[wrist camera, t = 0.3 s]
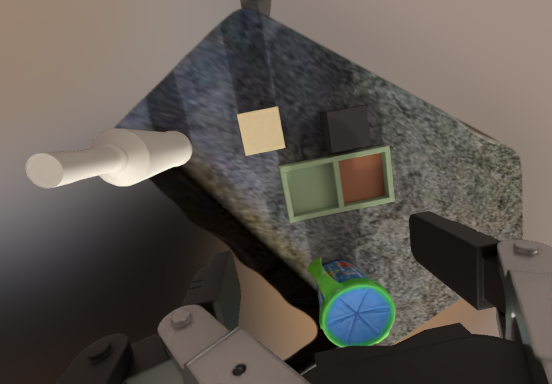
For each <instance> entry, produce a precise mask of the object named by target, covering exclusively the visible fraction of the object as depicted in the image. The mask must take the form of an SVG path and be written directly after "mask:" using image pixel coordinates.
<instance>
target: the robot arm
mask: <svg viewBox="0 0 552 384" xmlns="http://www.w3.org/2000/svg"><path fill="white" fill-rule="evenodd" d="M409 228H410V242H411V251H412V254H413V256H414V258H415V259H416V261H417V262H418V263H420V264H421V265H422V266H423V267H425V268H426V269H427V270H428V271H430V272H431V273H432V274H433V275H434V276H436V277H437V278H438V279H439V280H441V281H442V282H443V283H444V284H446V285H447V286H448V287H449V288H451V289H452V290H453V291H454V292H456V293H457V294H458V295H459V296H461V297H462V298H463V299H464V300H466V301H467V302H468V303H469V304H470V305H472V306H473V307H474V308H476V309H477V310H482V309H487V308H492V307H496V318H497V325H498V330H499V336H500V338H499V337H494V336H488V335H478V334H471V333H470V332H469V331H468V330H467V329H466V328H465V327H464V326H463V325H462V324H460V323H456V324H451V325H446V326H442V327H437V328H432V329H428V330H424V331H422V332H420V333H418V334H416V335H414V336H412V337H410V338H408V339H406V340H403V341H401V342H399V343H397V344H395V345H392V346H347V347H342V348H337V349H333V350H328V351H323V352H318V353H314V355H315V360H316V366H317V367H315V368H313V369H311V370H309V371H308V372H306V373H305V374H303V375H302V376H301V375H300V374H298V373H297V372H296V371H295V370H294V369H292V368H291V367H290V366H289V365H287V364H286V363H285V362H284V361H283V360H281V359H280V358H279V357H278V356H276V355H275V354H274V353H273V352H272V351H270V350H269V349H268V348H266V347H265V346H264V345H263V344H262V343H261V342H259V341H258V340H257V339H256V338H254V337H253V336H252V335H251V334H250V333H248V332H247V331H246V330H245V329H243V328H242V327H240V326H238V319H239V310H240V300H241V290H240V283H239V279H238V276H237V271H236V267H235V263H234V258H233V255H232V252H231V251H225V252H220V253H215V254H213V256H212V259H211V262H210V265H209V266H207V267H203V268H202V269H201V270H199V271H198V273H196V274H195V277H194V279H193V281H192V284H191V285H190V288H189V290H188V292H187V294H186V297H185V299H184V301H183V303H182V306H181V308H178V309H176V310H174V311H172V312H171V313H169V314H168V315H167V316H166V317H165V318H164V319H163V320H162V321H161V322H160V324H159V327H158V333H157V334H155V335H153V336H151V337H148V338H146V339H143V340H141V341H139V342H136V343H134V344H131V345H130V343H129V340H128V337H127V336H126V335H124V334H113V335H109V336H106V337H103V338H101V339H99V340H97V341H96V342H94V343H92V344H91V345H89V346H88V347H86V348H85V349H84V350H83V351H82V352H80V353H79V354H78V356H77V357H76V358H75V359H74V360H73V362H72V363H71V364H70V366H69V367H68V368H67V370H66V371H65V372H64V374H63V375H62V376H61V378H60V379H59V380H58V382H57V383H56V384H552V247H550V246H548V245H545V244H542V243H539V242H534V241H529V240H506V241H502V242H501V241H499V240H497V239H494V238H492V237H490V236H488V235H485V234H483V233H481V232H477V231H476V230H474V229H472V228H468V227H467V226H465V225H463V224H461V223H459V222H455V221H450V220H448V219H446V218H443V217H441V216H439V215H437V214H435V213H432V212H430V211H427V212H422V213H417V214H412V215H411V216H410V218H409Z"/></svg>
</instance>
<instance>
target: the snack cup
mask: <svg viewBox="0 0 552 384" xmlns="http://www.w3.org/2000/svg"><path fill="white" fill-rule="evenodd" d="M308 271H309V272H310V273H311V274H312V276H313V277H314V279H315V280H316V282H317V291H318V298H319V305H320V318H319V323H320V327H321V329H323V331H324V333H325V335H326V336H327V338H328V339H329V340H330V341H331V342H333V343H334V344H336V345H338V346H340V347H347V346H371V345H373V344H375V343H379V342H380V341H382V340H383V339H384V338H385V337H386V336H387V335H388V334H389V330H390V329H391V327H392V325H393V322H394V319H395V304H394V301H393V299H392V298H391V296H390V294H389V293H388V292H387V290H386V289H385V288H384V287H383V286H381V285H380V284H379V283H377V282H375V281H373V280H371V279H370V278H369V277H368V276H367V275H365V274H364V273H363V272H362V271H360V270H359V269H358V268H357V267H356V266H354V265H353V264H351V263H349V262H347V261H344V260H340V261H333V262H330V263H328V264H326V265H324V266H322V260H321V258H320V257H318V258H316V259H315V260H314V261H313V262H312V263H311V264H310V265H309V266H308Z"/></svg>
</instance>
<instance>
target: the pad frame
mask: <svg viewBox="0 0 552 384" xmlns="http://www.w3.org/2000/svg"><path fill="white" fill-rule="evenodd" d="M279 171H280V176H281V182H282V187H283V192H284V197H285V203H286V208H287V213H288V218H289V221H290V223H291V222H296V221H301V220H306V219H310V218H315V217H320V216H325V215H330V214H335V213H340V212H344V211H349V210H354V209H359V208H364V207H369V206H374V205H378V204H383V203H388V202H393V201H395V199H394V188H393V178H392V167H391V156H390V147H389V145H380V146H375V147H370V148H365V149H360V150H355V151H350V152H345V153H340V154H335V155H330V156H325V157H320V158H315V159H310V160H305V161H300V162H295V163H290V164H285V165H280V166H279Z"/></svg>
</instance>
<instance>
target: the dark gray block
mask: <svg viewBox="0 0 552 384" xmlns="http://www.w3.org/2000/svg"><path fill="white" fill-rule="evenodd" d="M320 119H321V126H322V132H323V139H324V146H325V151H327V152H331V153H334V152H339V151H344V150H349V149H354V148H359V147H364V146H369V145H370V137H369V128H368V119H367V110H366V105H362V106H357V107H351V108H346V109H341V110H336V111H331V112H326V113H323V114H320Z"/></svg>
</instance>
